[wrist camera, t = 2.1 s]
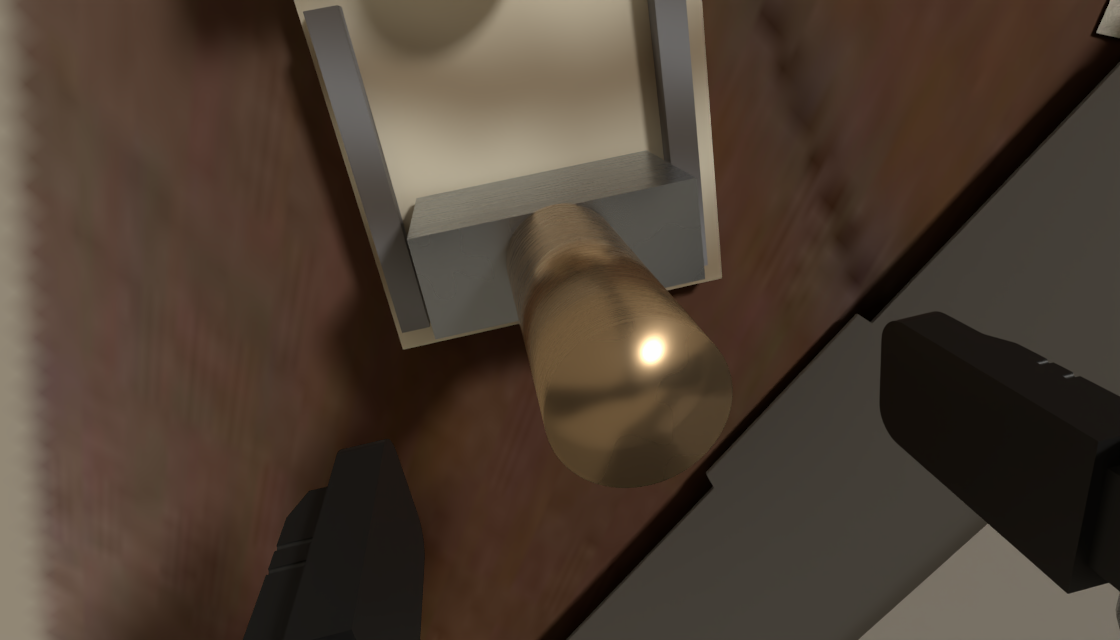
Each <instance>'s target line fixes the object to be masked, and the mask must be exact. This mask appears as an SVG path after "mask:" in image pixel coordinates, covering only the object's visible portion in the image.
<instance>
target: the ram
mask: <svg viewBox="0 0 1120 640" xmlns="http://www.w3.org/2000/svg"><path fill="white" fill-rule="evenodd" d="M407 242H408V245H409V249H410V252H411V256H412V259H413V263H414V266H415V270H416V273H417V277H418V280H419V284H420V287H421V291H422V294H423V298H424V301H425V305H426V308H427V312H428V315H429V319H430V322H431V326H432V329H433V333H434V336H435V339H440V338H444V337H449V336H453V335H458V334H462V333H467V332H471V331H475V330H480V329H484V328H489V327H493V326H498V325H502V324H507V323H511V322H516V321H519V323H520V327H521V331H522V335H523V339H524V344H525V348H526V352H527V356H528V360H529V364H530V368H531V373H532V377H533V381H534V385H535V389H536V393H537V397H538V402H539V406H540V410H541V414H542V418H543V422H544V426H545V431H546V434H547V437H548V441H549V443H550V445H551V447H552V449H553V451H554V452H555V454H556V455H557V457H558V458H559V460H560V461H561V462H562V463H563V464H564V465H565V466H566V467H567V468H569V469H570V470H571V471H572V472H574V473H575V474H577V475H578V476H580V477H582V478H584V479H586V480H588V481H591V482H593V483H596V484H600V485H603V486H609V487H616V488H633V487H642V486H647V485H652V484H655V483H658V482H662V481H664V480H667V479H669V478H671V477H674V476H676V475H677V474H679V473H681V472H683V471H685V470H686V469H687V468H689V467H690V466H692V465H693V464H695V463H696V462H697V461H698V460H699V459H700V458H702V457H703V456H704V455H705V454H706V452H707V451H708V450H709V449H710V448H711V447H712V446H713V444H714V443H715V442H716V440H717V439H718V437H719V436H720V434H721V432H722V430H723V429H724V426H725V424H726V422H727V419H728V416H729V413H730V409H731V404H732V380H731V375H730V372H729V368H728V365H727V363H726V361H725V359H724V357H723V356H722V354H721V353H720V351H719V350H718V348H717V347H716V346H715V345H714V344H713V343H712V341H711V340H710V339H709V338H708V337H707V336H706V334H705V333H704V332H703V331H702V330H701V329H700V328H699V326H698V325H697V324H696V323H695V322H694V321H693V320H692V318H691V317H690V316H689V315H688V314H687V313H686V312H685V310H684V309H683V308H682V307H681V306H680V305H679V304H678V302H677V301H676V300H675V299H674V298H673V297H672V296H671V294H670V293H669V292H668V291H667V290H666V289H665V288H667V287H672V286H676V285H681V284H685V283H689V282H694V281H698V280H703V279H705V270H704V258H703V246H702V234H701V222H700V211H699V199H698V187H697V178H696V177H694V176H692V175H691V174H689V173H687V172H685V171H683V170H681V169H680V168H678V167H676V166H674V165H672V164H670V163H669V162H667V161H665V160H663V159H661V158H659V157H658V156H656V155H654V154H652V153H650V152H649V151H647V150H646V151H641V152H636V153H631V154H626V155H622V156H617V157H612V158H607V159H602V160H598V161H593V162H588V163H583V164H578V165H574V166H569V167H564V168H559V169H554V170H550V171H545V172H540V173H535V174H530V175H526V176H521V177H516V178H511V179H506V180H502V181H497V182H492V183H487V184H482V185H478V186H473V187H468V188H463V189H458V190H454V191H449V192H444V193H439V194H434V195H430V196H425V197H420V198H416V202H415V207H414V211H413V215H412V220H411V224H410V228H409V232H408V237H407Z"/></svg>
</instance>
